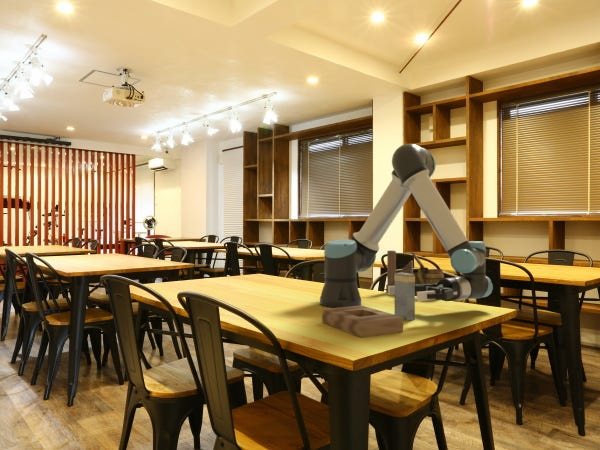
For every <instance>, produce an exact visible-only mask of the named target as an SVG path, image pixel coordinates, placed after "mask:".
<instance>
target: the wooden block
mask: <svg viewBox="0 0 600 450" xmlns="http://www.w3.org/2000/svg"><path fill="white" fill-rule="evenodd" d="M386 255H387V264H386V265H387V267H386V269H387V272H386V273H387V274H386V278H387V281H386V283H387V284H385V292H386V293H387V294H388V286H395V280H394V275H395V273H397V262H396V261H397V250H387V254H386ZM398 273H409V274H414V260H410V261H408V263H407V264H406V265H405V266H404V267H403V268H402V269H400V271H399V272H398Z"/></svg>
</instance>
